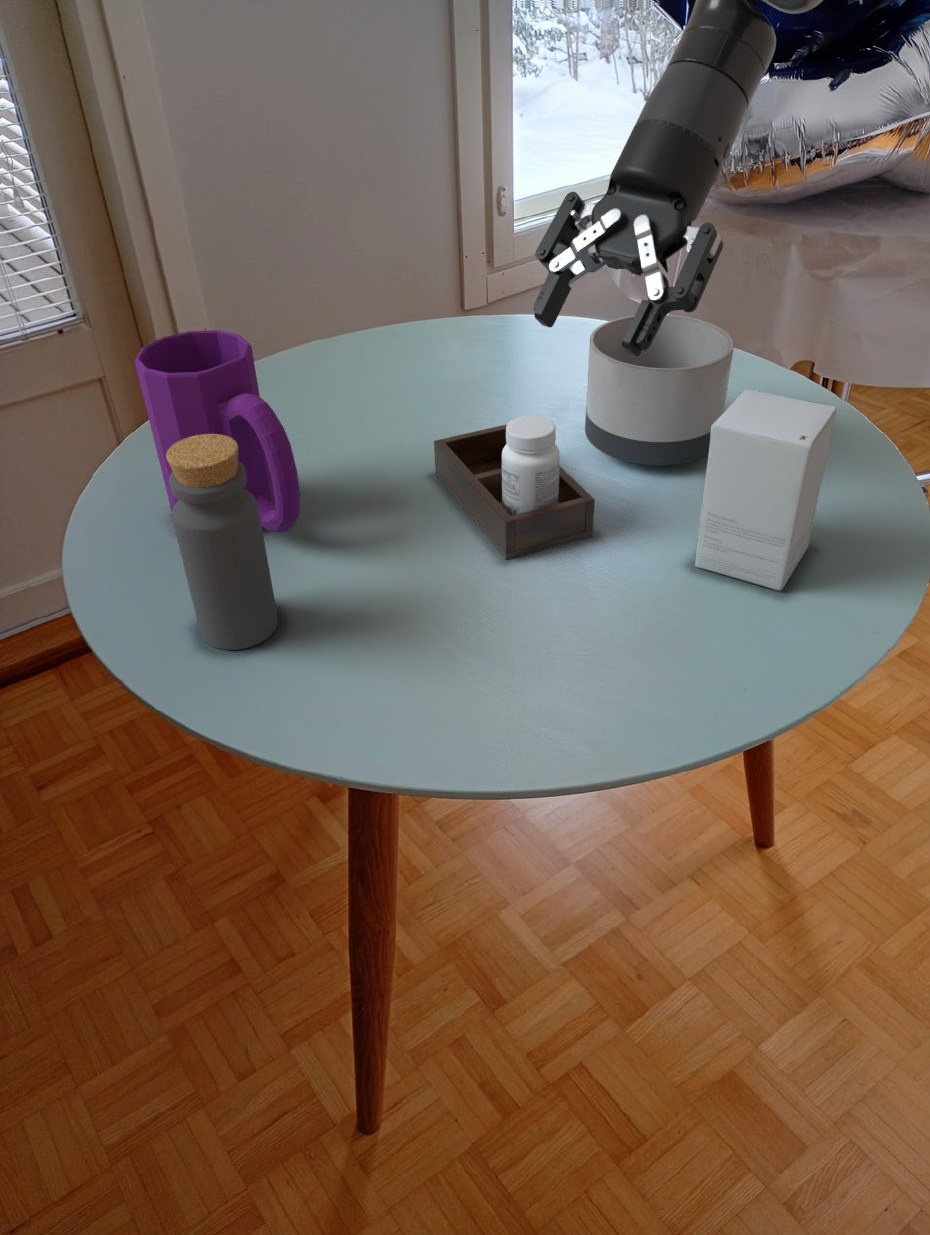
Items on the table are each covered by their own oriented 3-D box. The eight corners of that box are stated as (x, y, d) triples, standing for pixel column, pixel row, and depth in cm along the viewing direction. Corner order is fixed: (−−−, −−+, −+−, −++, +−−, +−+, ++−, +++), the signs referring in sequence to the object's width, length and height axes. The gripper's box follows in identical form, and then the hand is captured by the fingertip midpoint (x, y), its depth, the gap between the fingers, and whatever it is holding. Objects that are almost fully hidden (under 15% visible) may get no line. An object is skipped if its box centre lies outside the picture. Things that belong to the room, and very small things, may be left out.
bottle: (293, 613, 75) (263, 437, 66) (249, 659, 71) (211, 478, 62) (230, 596, 77) (193, 423, 68) (184, 639, 73) (138, 461, 64)
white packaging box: (810, 547, 80) (842, 406, 73) (780, 594, 76) (811, 447, 68) (723, 523, 84) (745, 385, 76) (690, 566, 79) (709, 423, 71)
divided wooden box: (513, 456, 94) (513, 422, 92) (592, 536, 83) (595, 499, 81) (435, 475, 92) (433, 440, 89) (505, 559, 80) (505, 522, 78)
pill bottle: (558, 501, 86) (561, 413, 81) (557, 531, 82) (560, 440, 77) (503, 500, 86) (503, 412, 81) (500, 529, 82) (499, 439, 77)
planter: (742, 438, 96) (759, 334, 89) (675, 491, 88) (688, 382, 82) (629, 403, 102) (637, 304, 96) (558, 450, 95) (561, 346, 88)
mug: (237, 475, 93) (207, 320, 83) (346, 534, 84) (326, 368, 75) (153, 514, 87) (111, 353, 78) (260, 581, 79) (227, 410, 70)
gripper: (585, 103, 77) (493, 294, 78) (748, 130, 69) (643, 341, 70) (620, 158, 83) (535, 333, 84) (773, 188, 76) (677, 380, 77)
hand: (584, 336), depth 77 cm, fingers open, 8 cm apart
